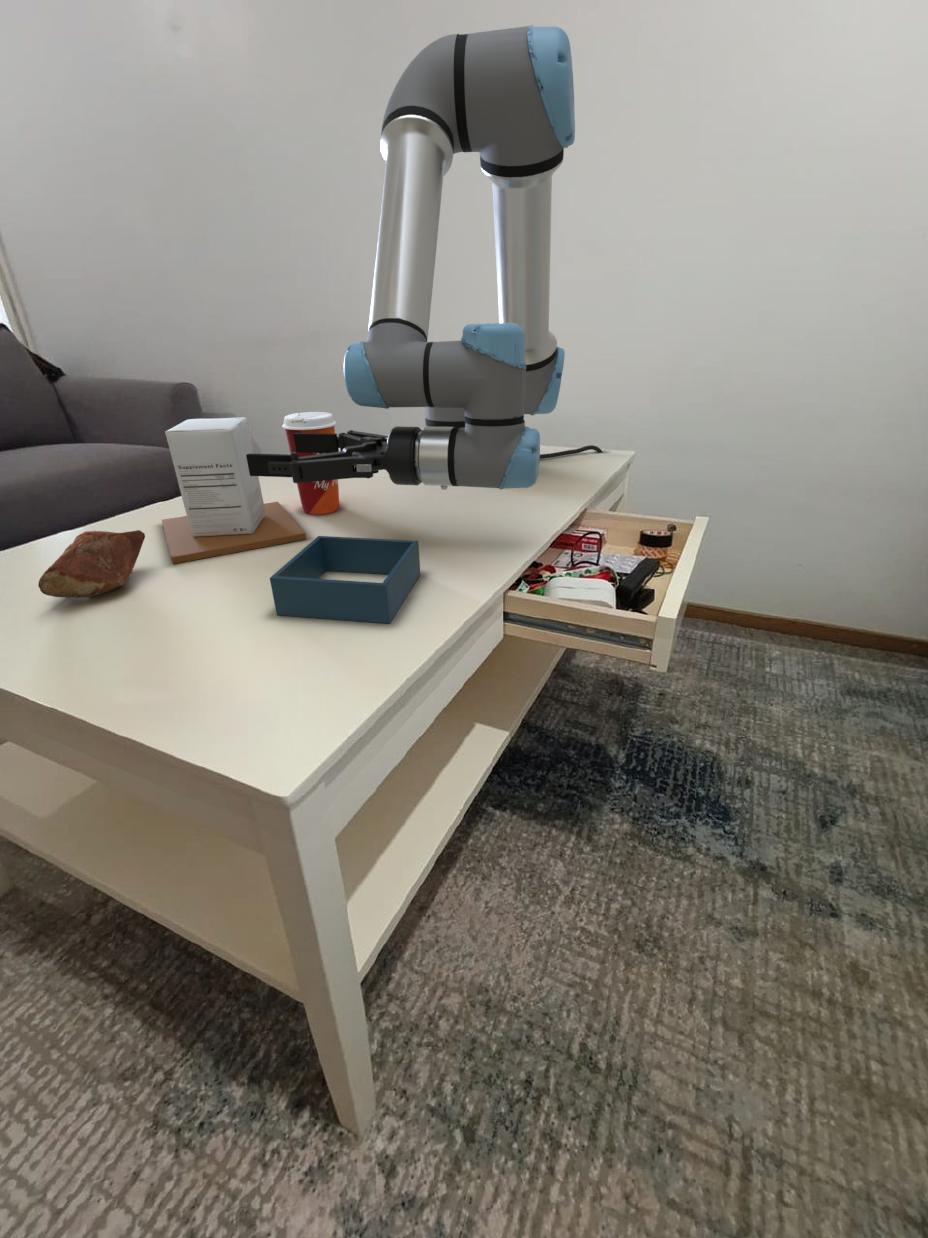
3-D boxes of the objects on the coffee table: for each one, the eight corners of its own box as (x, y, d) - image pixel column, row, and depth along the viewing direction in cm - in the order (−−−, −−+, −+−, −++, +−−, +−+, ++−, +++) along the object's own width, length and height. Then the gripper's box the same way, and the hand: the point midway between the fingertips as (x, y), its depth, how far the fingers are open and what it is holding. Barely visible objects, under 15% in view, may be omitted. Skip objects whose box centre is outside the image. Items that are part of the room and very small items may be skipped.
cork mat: (278, 507, 100) (277, 501, 99) (306, 539, 86) (305, 532, 85) (163, 525, 92) (161, 519, 92) (172, 564, 78) (170, 557, 78)
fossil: (143, 535, 78) (107, 486, 69) (180, 574, 76) (148, 529, 67) (53, 593, 73) (1, 549, 64) (89, 637, 71) (41, 597, 62)
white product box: (209, 517, 92) (185, 418, 85) (267, 515, 93) (248, 415, 86) (189, 537, 84) (162, 430, 77) (253, 534, 85) (231, 427, 78)
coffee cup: (334, 517, 94) (322, 420, 87) (287, 515, 95) (271, 419, 88) (353, 502, 101) (343, 411, 94) (309, 500, 103) (296, 410, 96)
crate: (420, 574, 74) (418, 540, 72) (389, 623, 62) (386, 585, 60) (323, 568, 76) (318, 535, 74) (276, 615, 65) (269, 577, 63)
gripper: (396, 513, 69) (232, 506, 73) (443, 462, 90) (315, 459, 94) (391, 448, 65) (218, 444, 69) (442, 411, 87) (308, 410, 91)
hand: (273, 452), depth 82 cm, fingers open, 13 cm apart
